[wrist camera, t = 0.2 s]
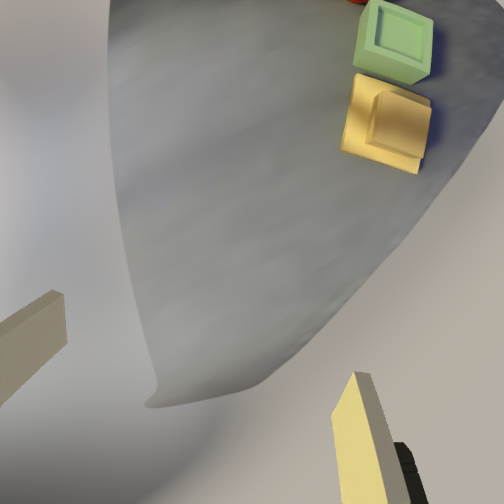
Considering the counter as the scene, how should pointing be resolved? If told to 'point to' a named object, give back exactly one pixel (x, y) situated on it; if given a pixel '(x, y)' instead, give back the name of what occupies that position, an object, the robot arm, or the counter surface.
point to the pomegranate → (359, 1)
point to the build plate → (362, 118)
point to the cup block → (394, 42)
